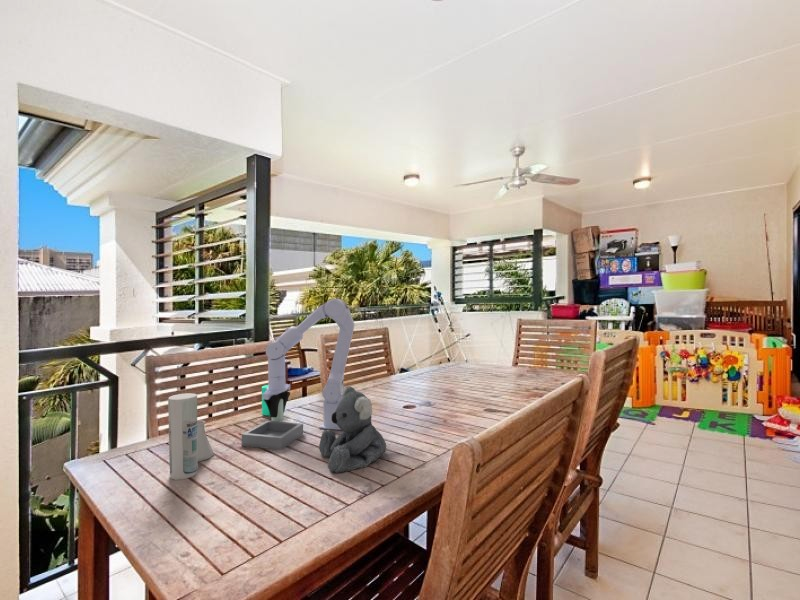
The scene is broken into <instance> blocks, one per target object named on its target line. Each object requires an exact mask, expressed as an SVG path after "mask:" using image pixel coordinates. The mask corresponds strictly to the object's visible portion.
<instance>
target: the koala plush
mask: <svg viewBox="0 0 800 600" xmlns="http://www.w3.org/2000/svg"><path fill="white" fill-rule="evenodd" d="M342 397H343V398H342V400H341V402H340V403H339V405H338V406H337V409H336V411H335V412H334V413H333V414H332V422H333V423H334V424H337V425H338V427H339V428H340V429H341V430H340V431H342V432H341V433H339V434H338V436H337V435H336V433H335V431H334V430H333V429H326V430H325V429H324V430H323V431H322V434H321V436H320V441H319V444H318V449H319V452H320V453H321V455H323V457H325V458H326V457H327V458H329V459H328V460H327V469H328V470H329V471H330V472H331V473H333V472H334V473H344V471H345V472H348V471H349V470H350V471H352V470H355V469H358V468H367V467H368V466H369V465H370V464H371V462H372V463H374V462H375V461H377V460H378V459H379V458H380V457H382V456H383V455H385V453H386V452H387V442H386V440H385V439H384V436H383V435H382V434H381V433H380V432H379V431H378V430H377V428H376V427H375V426H374V425H373V423H372V415H373V406H372V405H373V404H372V402H371V399H370V398H369V397H368V396H366V395H365V394H364V393H362V392H360V391H357V390H356V388H354V387H353V386H352V385H347V386H344V389H343V392H342ZM366 466H367V467H366Z"/></svg>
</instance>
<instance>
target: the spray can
mask: <svg viewBox="0 0 800 600" xmlns="http://www.w3.org/2000/svg"><path fill="white" fill-rule="evenodd" d="M167 405H168V406H167V407H168V411H167V412H168V443H169V444H168V445H169V446H168V448H169V449H168V451H169V455H168V459H169V478H170V479H171V480H176V481H177V480H179V481H180V480H185V479H188V478H192V477H194V476H195V475H196V474H197V473H198V470H199V469H198V468H199V465H198V460H197V421H198V395H197V393H191V392H188V393H187V392H186V393H178V394H174V395H171V396H169V397H168V398H167Z"/></svg>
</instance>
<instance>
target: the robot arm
mask: <svg viewBox="0 0 800 600" xmlns="http://www.w3.org/2000/svg"><path fill="white" fill-rule="evenodd" d="M346 303H347V302H345V301H344V300H343V299H340V298H332V299H329V300H327V301H326V302H325V303H323V304H322V305H320V306H319V307H317V308H316V309H314V311H312V313H310V314H309V315H308V316H307V317H306V318H305V319H304V320H303V321H301V322H300V323H299V324H298V325H297V326H295V325H294V326H293V325H291V326H290V327H289V326H288V327H286V328H285V329H284V330H285V331H284V332H283V333H282V334H281V335H279V336H276V337H275V338H274V340H275V341H272V342H270V343H268V345H267V346H266V348H265V355H266V357H267V373H268V374H267V380H268V381H267V385H268V388H266V392H265V393H263V399H264V401H265V403H266V405H267V407H268V409H269V413H270V415H269V416H270V418H271V417H275V418H276V417H277V414H278V405H279V402H280V399H283V414H284V413H285V409H286V406H287V402H288V400H289V397H290V396H291V392H290V390H291V383H289V384H288V383H287V382H286V381H287V380H286V354H287V352H288V351H290V350H291V349H292V348H294V346H296V345H297V344H298V343H299V342H301V341H302V340H303V338H304V333H306V332H307V331H308V330H309V329H311V327H312V326H314V325H315V324H317V322H319V321H320V320H323V319H327V318H330V319H332V320H333V321H334V322H335V323H336V325H337V326H338V327H339V331H338V335H337V341H336V344H335V349H334V352H333V353H334V354H333V357H332V358H333V359H332V364H331V366H330V367H331V368H330V372H329V375H328V378H327V382H326V384H325V386H324V387H323V389H322V393H321V394H322V397H323V399H322V405H323V406H322V408H323V409H322V412H323V414H322V417H323V423H322V424H320V425H319V426H318V428H319V429H324V430H325V429H326V430H329V429H330V430H338V431H342V430H341V429H340V428H339V427H338V425H337V424H334V423H333V422H332V414H333V413H334V412H335V411H336V409H337V406H338V405H339V403H340V402H341V400H342V398H343V397H342V392H343V389H344V388H345V383H344V378H345V369H346V365H347V361H348V356H349V352H350V347H351V343H352V338H353V334H354V330H355V320H354V318H353V316H352V313H351V311H350V307H349V305H347V304H346Z"/></svg>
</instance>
